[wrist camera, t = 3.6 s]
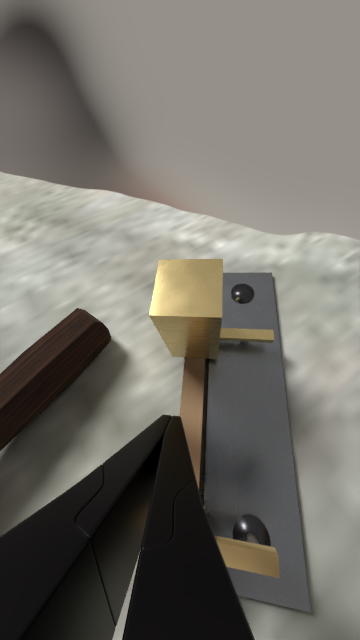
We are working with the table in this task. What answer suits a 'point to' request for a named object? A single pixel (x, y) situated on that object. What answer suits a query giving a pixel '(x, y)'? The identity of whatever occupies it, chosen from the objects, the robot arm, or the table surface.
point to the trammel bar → (191, 413)
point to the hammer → (48, 370)
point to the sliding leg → (195, 309)
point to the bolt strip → (253, 445)
